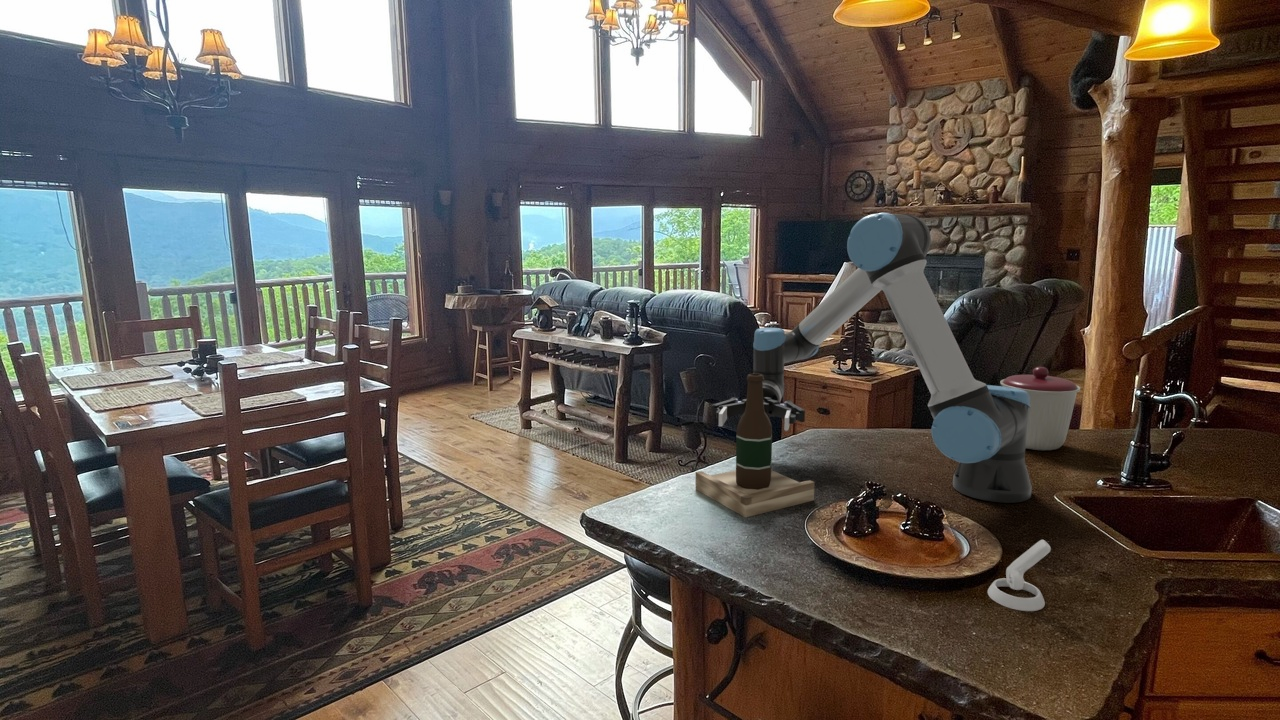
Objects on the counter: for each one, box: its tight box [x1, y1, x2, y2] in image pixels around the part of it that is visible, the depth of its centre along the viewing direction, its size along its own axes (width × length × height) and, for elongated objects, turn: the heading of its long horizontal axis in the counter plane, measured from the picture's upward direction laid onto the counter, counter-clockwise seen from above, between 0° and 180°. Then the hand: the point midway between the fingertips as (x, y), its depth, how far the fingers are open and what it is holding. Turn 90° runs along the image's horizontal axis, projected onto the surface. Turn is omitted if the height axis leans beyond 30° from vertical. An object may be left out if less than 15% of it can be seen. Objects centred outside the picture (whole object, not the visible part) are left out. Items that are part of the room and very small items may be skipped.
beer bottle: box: [735, 373, 773, 490], centre depth 144 cm, size 8×8×24 cm
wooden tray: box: [695, 469, 815, 518], centre depth 146 cm, size 18×18×4 cm
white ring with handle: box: [987, 539, 1052, 612], centre depth 102 cm, size 8×12×7 cm
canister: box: [999, 366, 1081, 451], centre depth 177 cm, size 18×18×21 cm
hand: (752, 422), depth 140 cm, fingers open, 13 cm apart
